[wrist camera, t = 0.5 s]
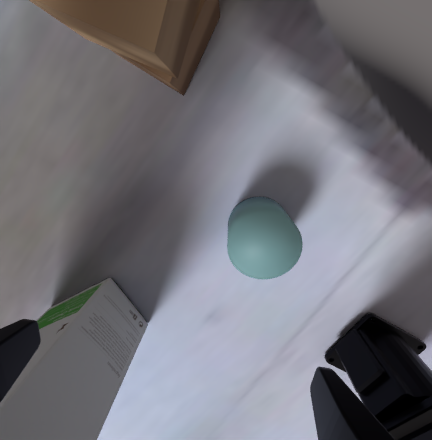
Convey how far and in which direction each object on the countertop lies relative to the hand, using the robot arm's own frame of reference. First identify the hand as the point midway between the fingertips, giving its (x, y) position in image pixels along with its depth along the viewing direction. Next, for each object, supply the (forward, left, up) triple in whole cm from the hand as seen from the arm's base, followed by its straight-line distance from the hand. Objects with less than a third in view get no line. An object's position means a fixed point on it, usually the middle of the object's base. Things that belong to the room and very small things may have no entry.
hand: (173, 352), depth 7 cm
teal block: (-4, -2, -12) cm, 13 cm away
